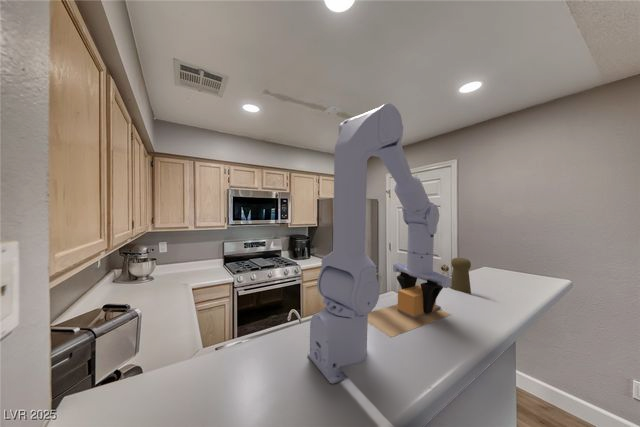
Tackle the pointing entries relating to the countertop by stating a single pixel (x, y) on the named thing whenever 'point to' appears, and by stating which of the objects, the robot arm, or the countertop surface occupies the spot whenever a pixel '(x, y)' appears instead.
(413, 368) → the countertop surface
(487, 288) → the countertop surface
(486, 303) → the countertop surface
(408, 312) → the block
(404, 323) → the pine board
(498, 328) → the countertop surface
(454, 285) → the cork
